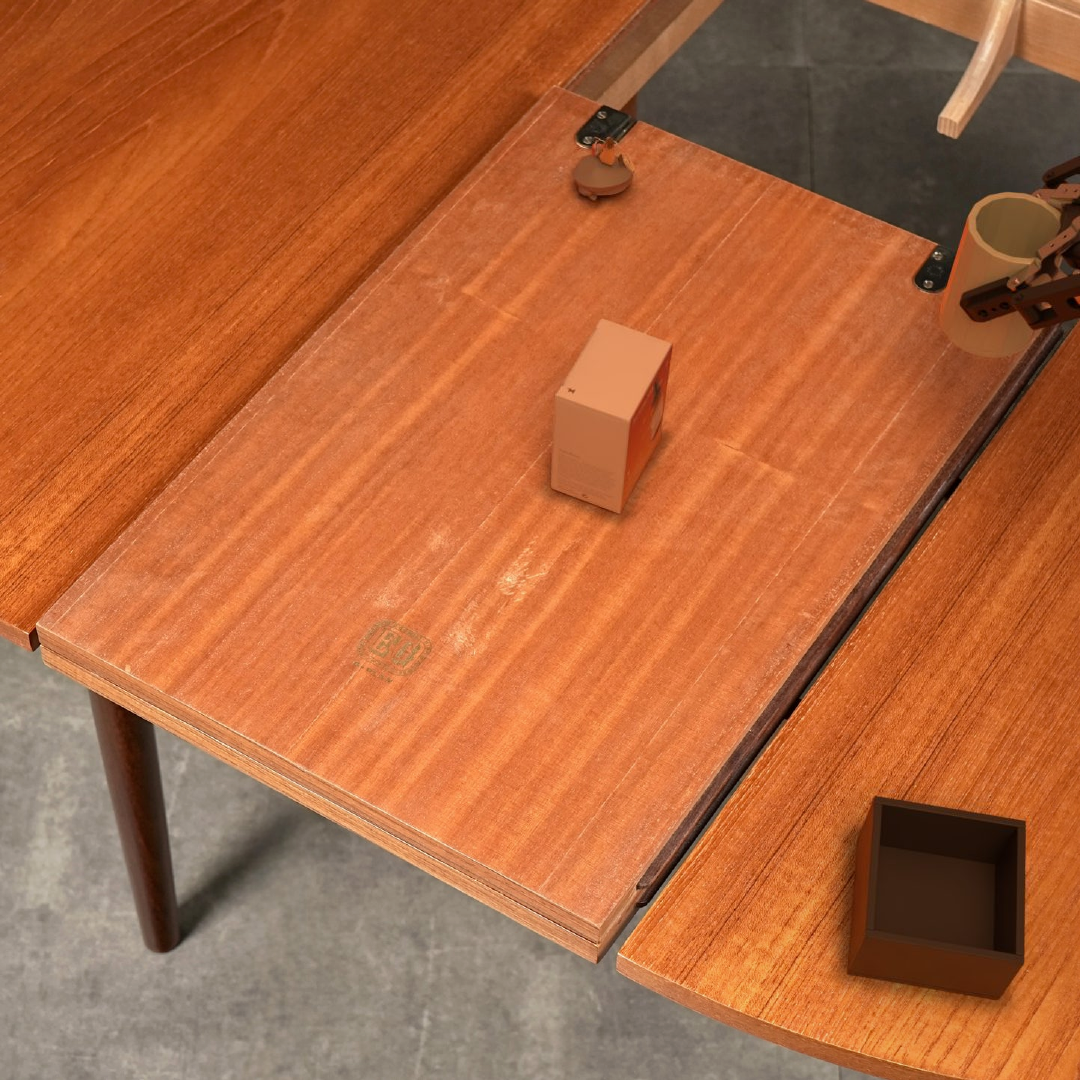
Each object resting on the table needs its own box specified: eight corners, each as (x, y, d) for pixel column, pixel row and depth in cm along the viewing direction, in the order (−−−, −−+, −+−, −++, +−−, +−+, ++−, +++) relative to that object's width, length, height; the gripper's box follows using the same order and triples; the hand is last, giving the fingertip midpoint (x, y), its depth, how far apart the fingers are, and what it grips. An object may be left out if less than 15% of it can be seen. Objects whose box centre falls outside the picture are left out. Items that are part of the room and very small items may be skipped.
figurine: (577, 210, 138) (580, 154, 133) (566, 173, 140) (568, 116, 135) (640, 202, 138) (646, 146, 133) (628, 165, 141) (633, 109, 136)
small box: (620, 517, 120) (629, 424, 112) (548, 489, 121) (552, 395, 113) (663, 437, 124) (675, 341, 116) (593, 411, 126) (600, 314, 117)
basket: (998, 1000, 101) (1024, 963, 96) (847, 974, 101) (865, 936, 97) (1001, 862, 106) (1026, 820, 101) (857, 838, 107) (874, 795, 102)
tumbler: (1053, 329, 116) (1090, 233, 108) (989, 372, 113) (1022, 278, 106) (983, 275, 118) (1015, 178, 111) (919, 316, 116) (947, 220, 109)
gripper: (1202, 61, 103) (966, 161, 115) (1172, 219, 95) (923, 309, 107) (1259, 149, 106) (1025, 237, 118) (1235, 308, 99) (987, 386, 110)
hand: (977, 271), depth 112 cm, fingers closed on tumbler, 6 cm apart
